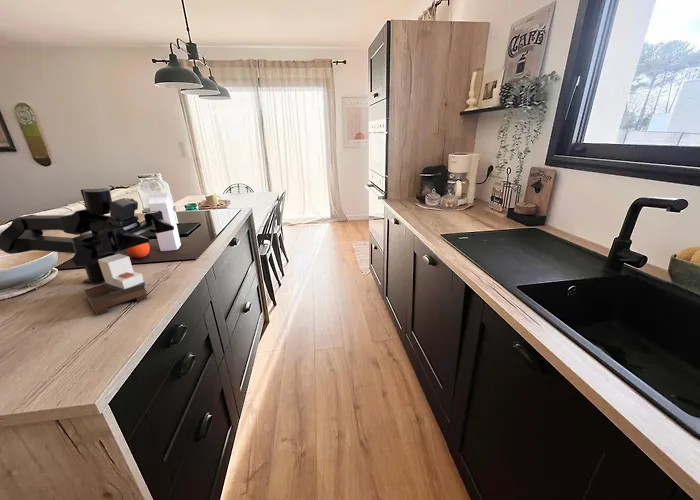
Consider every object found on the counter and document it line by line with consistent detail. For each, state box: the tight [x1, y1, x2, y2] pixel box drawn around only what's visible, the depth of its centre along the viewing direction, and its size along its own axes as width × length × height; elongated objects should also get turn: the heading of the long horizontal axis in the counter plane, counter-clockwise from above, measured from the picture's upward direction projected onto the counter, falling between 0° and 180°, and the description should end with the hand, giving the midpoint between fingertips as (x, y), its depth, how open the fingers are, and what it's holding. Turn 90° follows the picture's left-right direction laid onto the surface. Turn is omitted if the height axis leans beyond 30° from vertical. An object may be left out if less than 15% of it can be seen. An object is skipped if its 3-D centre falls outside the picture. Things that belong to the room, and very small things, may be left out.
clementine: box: [126, 242, 151, 259], centre depth 106 cm, size 8×7×7 cm
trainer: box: [98, 253, 147, 291], centre depth 77 cm, size 10×5×8 cm, turn 64°
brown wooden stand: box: [83, 283, 148, 316], centre depth 77 cm, size 12×11×4 cm
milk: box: [148, 192, 182, 252], centre depth 111 cm, size 6×6×22 cm
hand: (161, 233), depth 80 cm, fingers open, 9 cm apart
